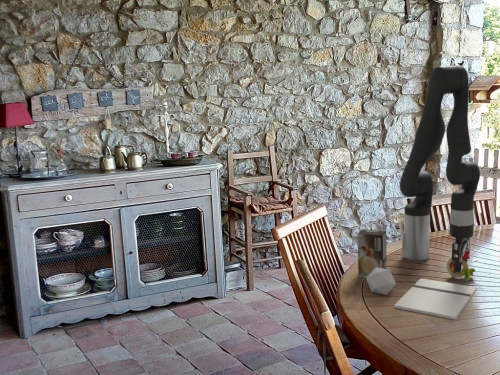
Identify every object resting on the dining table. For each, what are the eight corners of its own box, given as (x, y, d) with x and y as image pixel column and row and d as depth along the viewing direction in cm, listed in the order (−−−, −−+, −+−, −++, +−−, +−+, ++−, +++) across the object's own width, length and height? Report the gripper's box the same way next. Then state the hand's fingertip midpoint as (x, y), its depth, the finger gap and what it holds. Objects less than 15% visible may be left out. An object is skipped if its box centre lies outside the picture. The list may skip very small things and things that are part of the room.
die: (399, 292, 180) (388, 265, 184) (397, 288, 173) (386, 260, 176) (375, 301, 182) (365, 273, 186) (372, 297, 174) (361, 269, 178)
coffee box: (387, 274, 196) (387, 230, 193) (383, 280, 190) (383, 235, 187) (361, 271, 200) (361, 228, 197) (357, 277, 194) (357, 233, 191)
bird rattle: (451, 286, 188) (477, 279, 183) (438, 256, 188) (464, 249, 183) (454, 280, 193) (480, 274, 188) (442, 251, 193) (467, 244, 189)
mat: (394, 307, 167) (394, 304, 167) (420, 280, 188) (420, 278, 188) (455, 319, 157) (455, 316, 157) (476, 289, 178) (476, 286, 178)
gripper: (455, 216, 193) (454, 260, 196) (444, 225, 181) (443, 273, 184) (478, 218, 189) (476, 263, 192) (468, 228, 177) (467, 276, 180)
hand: (460, 268), depth 188 cm, fingers open, 8 cm apart
